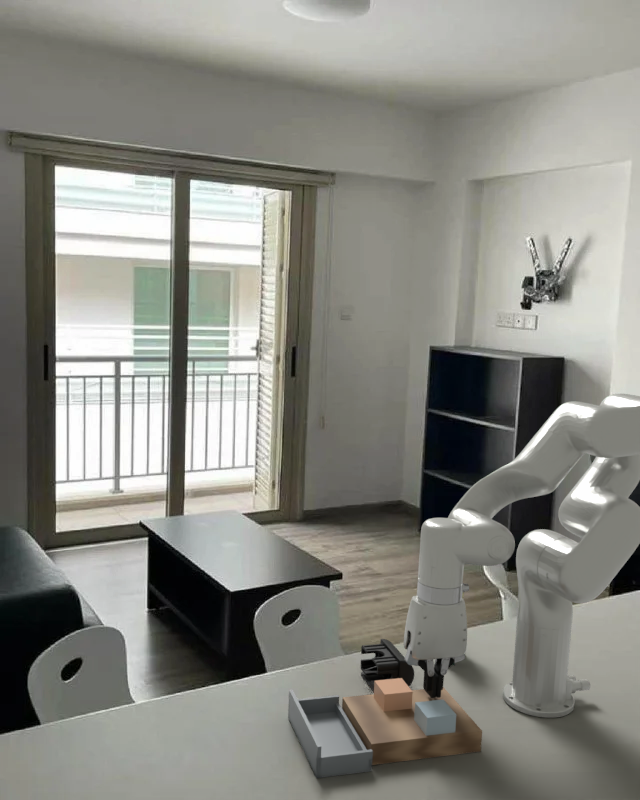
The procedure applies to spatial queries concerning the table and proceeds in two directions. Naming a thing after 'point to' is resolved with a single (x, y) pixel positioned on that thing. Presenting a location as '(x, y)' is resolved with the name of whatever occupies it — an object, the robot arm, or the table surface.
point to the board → (408, 730)
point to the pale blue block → (435, 717)
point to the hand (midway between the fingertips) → (432, 693)
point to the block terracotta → (393, 694)
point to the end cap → (385, 664)
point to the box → (328, 736)
